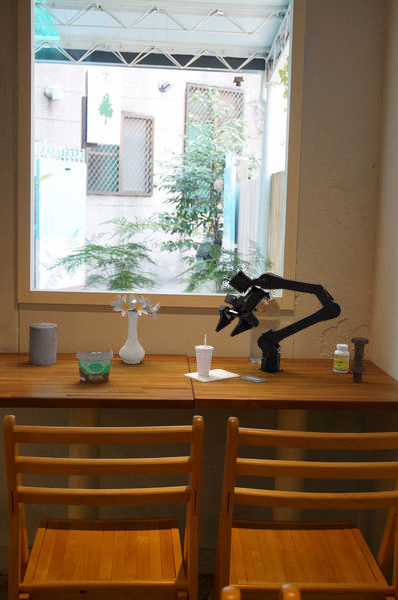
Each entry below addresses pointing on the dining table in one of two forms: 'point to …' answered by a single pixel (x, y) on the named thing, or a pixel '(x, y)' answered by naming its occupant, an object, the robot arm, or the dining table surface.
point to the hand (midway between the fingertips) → (223, 333)
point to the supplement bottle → (341, 359)
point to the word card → (253, 379)
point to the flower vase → (133, 324)
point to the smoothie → (203, 358)
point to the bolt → (358, 358)
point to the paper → (212, 375)
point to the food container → (94, 366)
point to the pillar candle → (42, 343)
